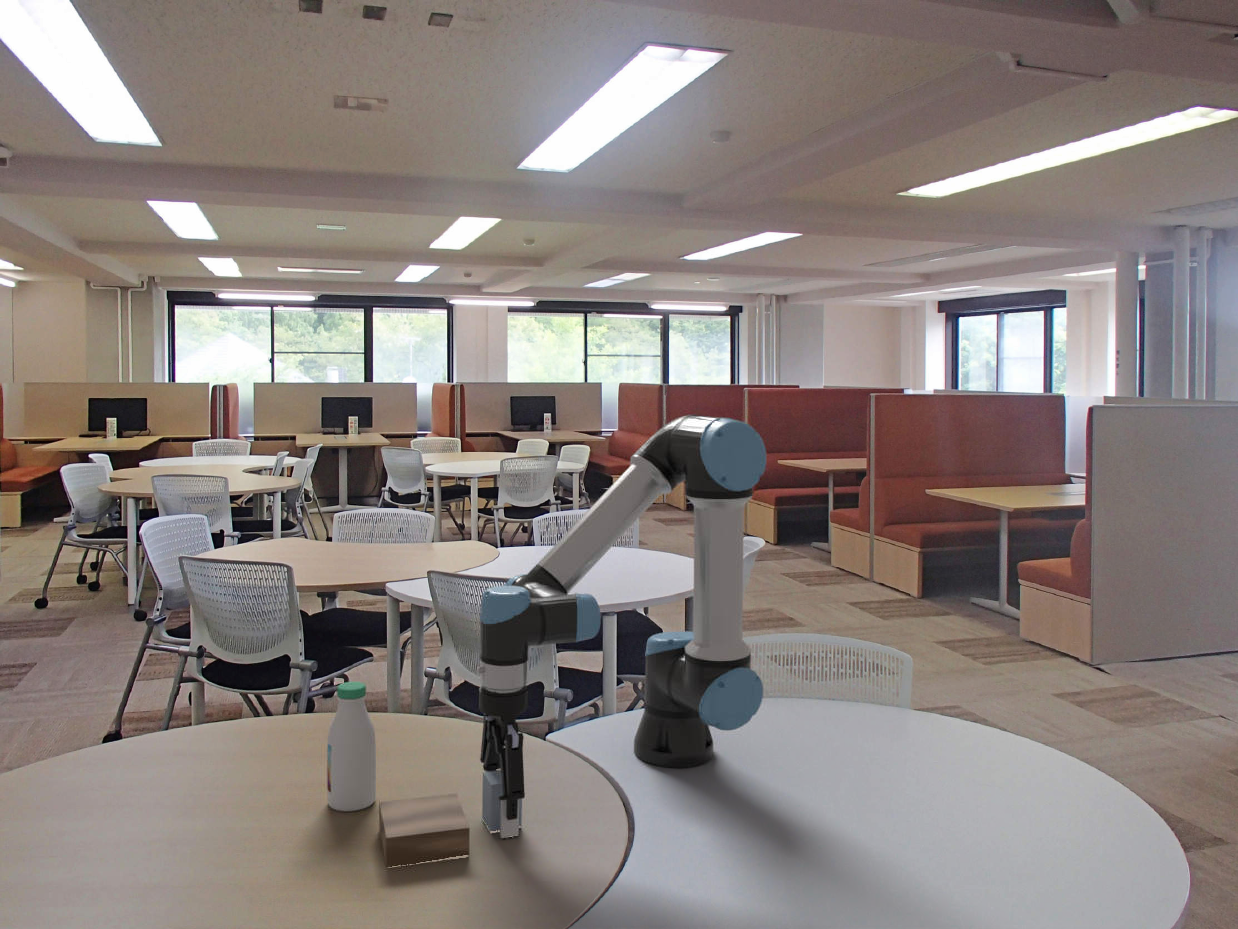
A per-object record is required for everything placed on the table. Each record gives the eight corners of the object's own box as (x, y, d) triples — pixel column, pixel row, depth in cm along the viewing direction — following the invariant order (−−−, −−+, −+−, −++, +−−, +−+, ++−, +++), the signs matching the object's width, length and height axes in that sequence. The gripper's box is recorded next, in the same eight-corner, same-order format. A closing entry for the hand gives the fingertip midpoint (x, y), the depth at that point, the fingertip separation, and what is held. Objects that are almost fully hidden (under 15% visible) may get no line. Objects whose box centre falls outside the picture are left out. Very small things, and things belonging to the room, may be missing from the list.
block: (482, 820, 158) (482, 772, 157) (512, 815, 160) (512, 768, 159) (490, 834, 153) (491, 785, 153) (521, 829, 155) (522, 780, 155)
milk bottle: (385, 798, 165) (385, 682, 163) (354, 817, 158) (354, 696, 156) (348, 788, 168) (348, 675, 166) (317, 806, 161) (316, 688, 159)
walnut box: (379, 833, 154) (379, 802, 153) (455, 823, 157) (456, 793, 157) (386, 871, 142) (386, 838, 142) (469, 860, 146) (469, 827, 146)
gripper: (462, 667, 163) (460, 798, 165) (500, 711, 143) (496, 859, 145) (506, 663, 166) (503, 792, 168) (548, 705, 146) (544, 850, 148)
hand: (500, 823), depth 157 cm, fingers open, 9 cm apart
